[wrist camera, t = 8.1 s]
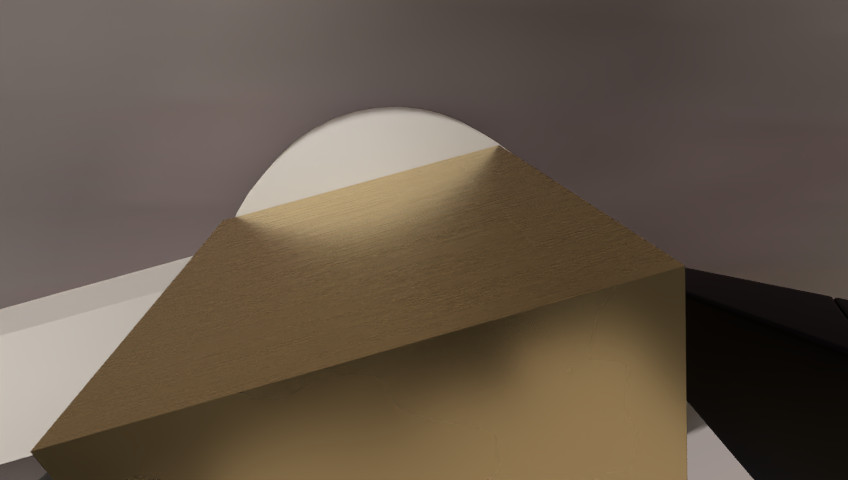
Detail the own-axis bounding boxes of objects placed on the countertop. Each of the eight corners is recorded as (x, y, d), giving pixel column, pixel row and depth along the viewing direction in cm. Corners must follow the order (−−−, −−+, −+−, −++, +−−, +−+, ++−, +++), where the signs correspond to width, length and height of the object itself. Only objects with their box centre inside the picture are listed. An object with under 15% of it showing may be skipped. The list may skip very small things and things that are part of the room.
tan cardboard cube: (499, 145, 10) (684, 265, 4) (537, 365, 12) (689, 630, 6) (223, 220, 9) (30, 450, 4) (317, 428, 12) (279, 755, 6)
